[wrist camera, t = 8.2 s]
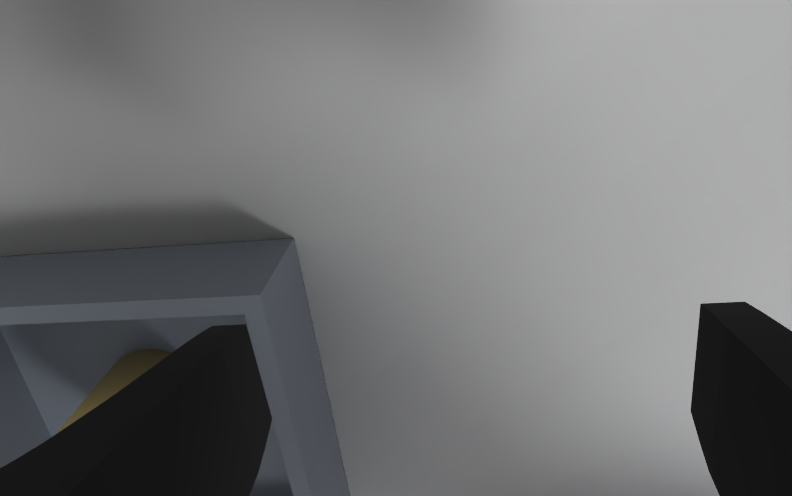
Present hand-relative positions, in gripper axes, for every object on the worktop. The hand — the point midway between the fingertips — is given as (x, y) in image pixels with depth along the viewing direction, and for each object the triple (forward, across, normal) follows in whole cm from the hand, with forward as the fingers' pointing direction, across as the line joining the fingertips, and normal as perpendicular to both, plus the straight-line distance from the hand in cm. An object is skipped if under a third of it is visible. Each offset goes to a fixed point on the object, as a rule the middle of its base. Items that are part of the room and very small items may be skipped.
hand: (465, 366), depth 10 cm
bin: (+9, +12, +8) cm, 17 cm away
